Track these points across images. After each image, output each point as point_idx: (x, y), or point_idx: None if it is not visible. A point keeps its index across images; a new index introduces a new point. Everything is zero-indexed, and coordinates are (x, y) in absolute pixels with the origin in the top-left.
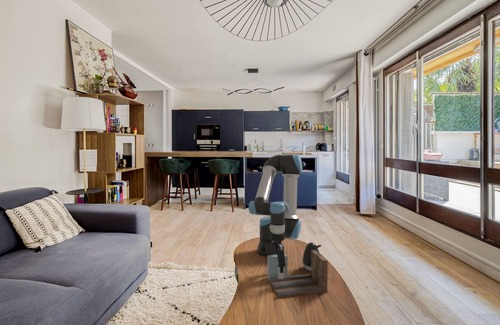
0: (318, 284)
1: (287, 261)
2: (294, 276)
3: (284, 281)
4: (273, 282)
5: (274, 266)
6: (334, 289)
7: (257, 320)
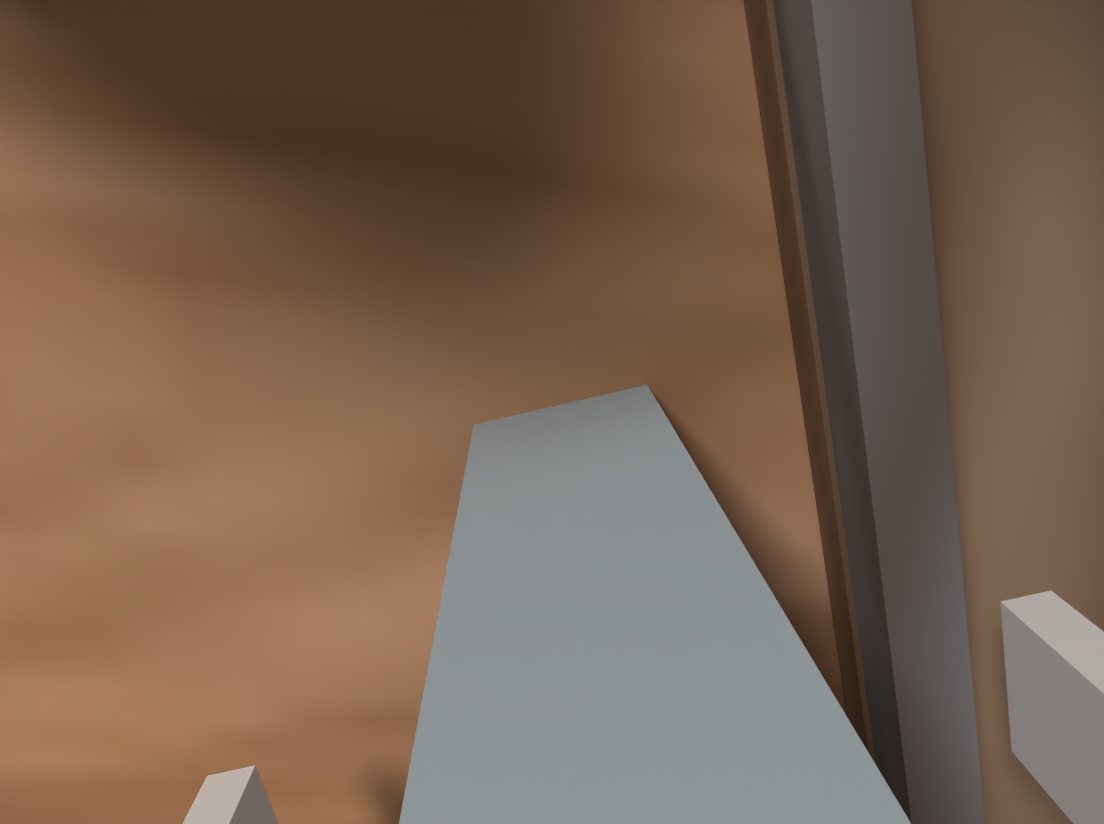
0: None
1: (868, 762)
2: (896, 184)
3: (968, 520)
4: (986, 798)
5: None
6: None
7: None
